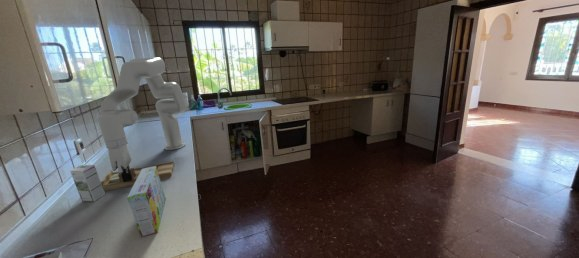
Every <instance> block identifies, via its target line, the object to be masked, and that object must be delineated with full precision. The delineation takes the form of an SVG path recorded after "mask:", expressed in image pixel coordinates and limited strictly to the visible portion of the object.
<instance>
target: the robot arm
mask: <svg viewBox="0 0 579 258" xmlns="http://www.w3.org/2000/svg"><path fill="white" fill-rule="evenodd" d="M165 70H166V63H165V61H164V60H163V59H162V58H161V57H141V58H132V59H130V60H129V61H126V62H123V64H121V68H120V72H119V75H118V80H117V85H116V88H115V89H114V90H112V91H111V92H110V93H108V95H107V96H106V97H105V98H104V100H103V101H102V102H101V105H100V108H99V113H98V116H97V122H98V125H99V128H100V132H101V134H102V138H103V141H104V144H105V147H106V149H107V151H108V157H109V161H110V166H111V169H112V172H116V170H118V171H117V172H119V174H120V173H121V176H122V179H123V182H127V181H131V180H132V179H133V178H132V175H131V171H130V169H131V168H130V164H131V162H132V158H131V154H130V150H129V148H128V144H129V143H128V139H127V135H126V132H125V128H127V127H131V126H133V125H135V124H137V122H138V119H139V118H138V117H139V116H138V113H137V112H136V110H133V109H130V108H129V109H128V108H126V109H117V108H118V107H119V105H120V104H122V103H124V102H126V101H128V100H130V99H132V98H133V97H135V96H137V95H138V94H139V91H140V84H141V80H142V79H144V80H145V82H146V83H147V86H148V88H149V90H150V92H151V94H152V96H153V98H155V99H156V100H157V101H156V103H155V105H154V106H155V110H156V112H157V114H158V116H159V120H160V123H161V124H160V125H161V128H162V132H163V136H164V139H165V144H166V145H164V147H163V148H164V150H166V151H173V150H179V149H182V148H183V147H186V142H185V141H183V139H182V134H181V130H180V129H181V128H180V125H179V120H178V118H177V116H175V114H183V113H185V112H186V111H187V109H188V106H187V102H186V99H185V97H184V94H183V91H182V88H181V86H180V84H179V83H177V82H176V81H168V82H166V81H164V78H163V77H162V74H163V73H165Z"/></svg>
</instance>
